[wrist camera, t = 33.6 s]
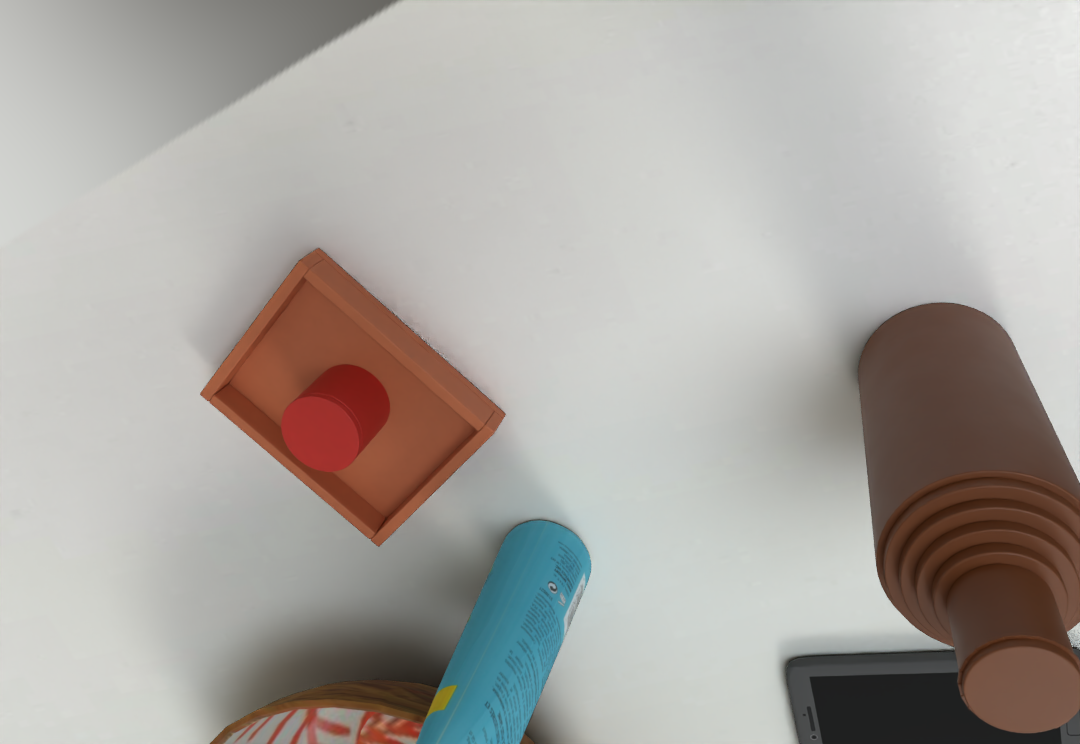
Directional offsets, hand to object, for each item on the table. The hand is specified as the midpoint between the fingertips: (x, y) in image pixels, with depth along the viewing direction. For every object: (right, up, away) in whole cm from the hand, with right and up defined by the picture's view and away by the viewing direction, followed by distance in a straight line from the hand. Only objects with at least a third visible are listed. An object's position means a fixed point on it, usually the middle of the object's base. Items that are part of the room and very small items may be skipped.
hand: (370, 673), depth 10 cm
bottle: (+19, +3, +31) cm, 36 cm away
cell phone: (+22, -14, +38) cm, 46 cm away
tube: (+2, -7, +41) cm, 41 cm away
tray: (-8, +2, +39) cm, 40 cm away
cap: (-8, +2, +39) cm, 40 cm away
